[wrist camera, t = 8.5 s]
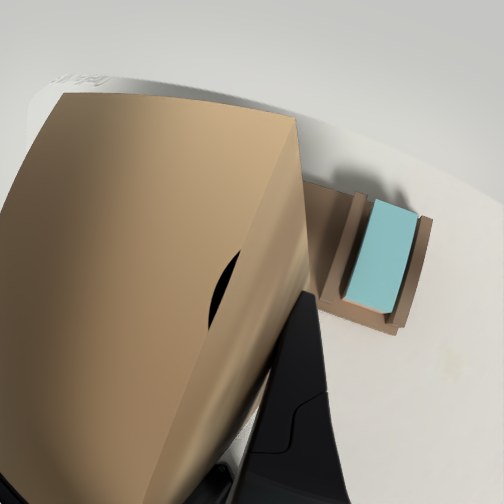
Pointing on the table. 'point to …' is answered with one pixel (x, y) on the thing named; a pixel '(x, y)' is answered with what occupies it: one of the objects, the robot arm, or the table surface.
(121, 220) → the oak board
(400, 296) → the rack
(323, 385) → the robot arm
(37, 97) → the table surface
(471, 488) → the table surface
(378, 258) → the offcut upper
